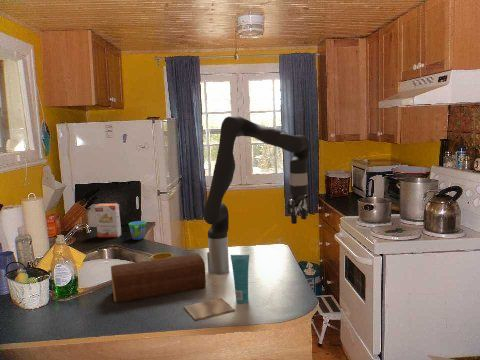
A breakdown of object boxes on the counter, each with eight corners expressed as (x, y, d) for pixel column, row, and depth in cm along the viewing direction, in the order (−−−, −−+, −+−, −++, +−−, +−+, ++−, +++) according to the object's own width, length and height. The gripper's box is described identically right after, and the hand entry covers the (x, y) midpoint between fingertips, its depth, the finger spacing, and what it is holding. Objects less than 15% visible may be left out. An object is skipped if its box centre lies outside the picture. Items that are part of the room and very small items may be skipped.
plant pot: (151, 273, 219) (149, 254, 217) (172, 270, 222) (171, 251, 220) (154, 280, 209) (152, 260, 208) (176, 277, 212) (174, 257, 211)
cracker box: (97, 237, 291) (94, 205, 288) (101, 235, 297) (98, 203, 294) (117, 237, 288) (114, 205, 285) (121, 235, 294) (119, 203, 291)
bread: (112, 291, 199) (109, 262, 197) (198, 277, 211) (197, 249, 209) (114, 304, 184) (111, 273, 182) (207, 289, 197) (205, 259, 195)
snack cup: (132, 235, 292) (131, 220, 290) (149, 234, 292) (147, 219, 290) (127, 242, 276) (125, 226, 275) (144, 241, 276) (143, 225, 275)
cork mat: (195, 320, 166) (195, 319, 166) (183, 307, 178) (183, 306, 178) (234, 310, 173) (234, 309, 173) (221, 299, 185) (221, 297, 185)
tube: (251, 298, 184) (249, 252, 181) (251, 303, 179) (249, 256, 176) (232, 299, 184) (230, 253, 181) (232, 304, 179) (230, 257, 177)
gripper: (298, 180, 196) (299, 216, 199) (282, 185, 185) (282, 224, 187) (314, 181, 192) (314, 218, 194) (298, 186, 180) (298, 226, 183)
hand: (299, 221), depth 191 cm, fingers open, 8 cm apart
